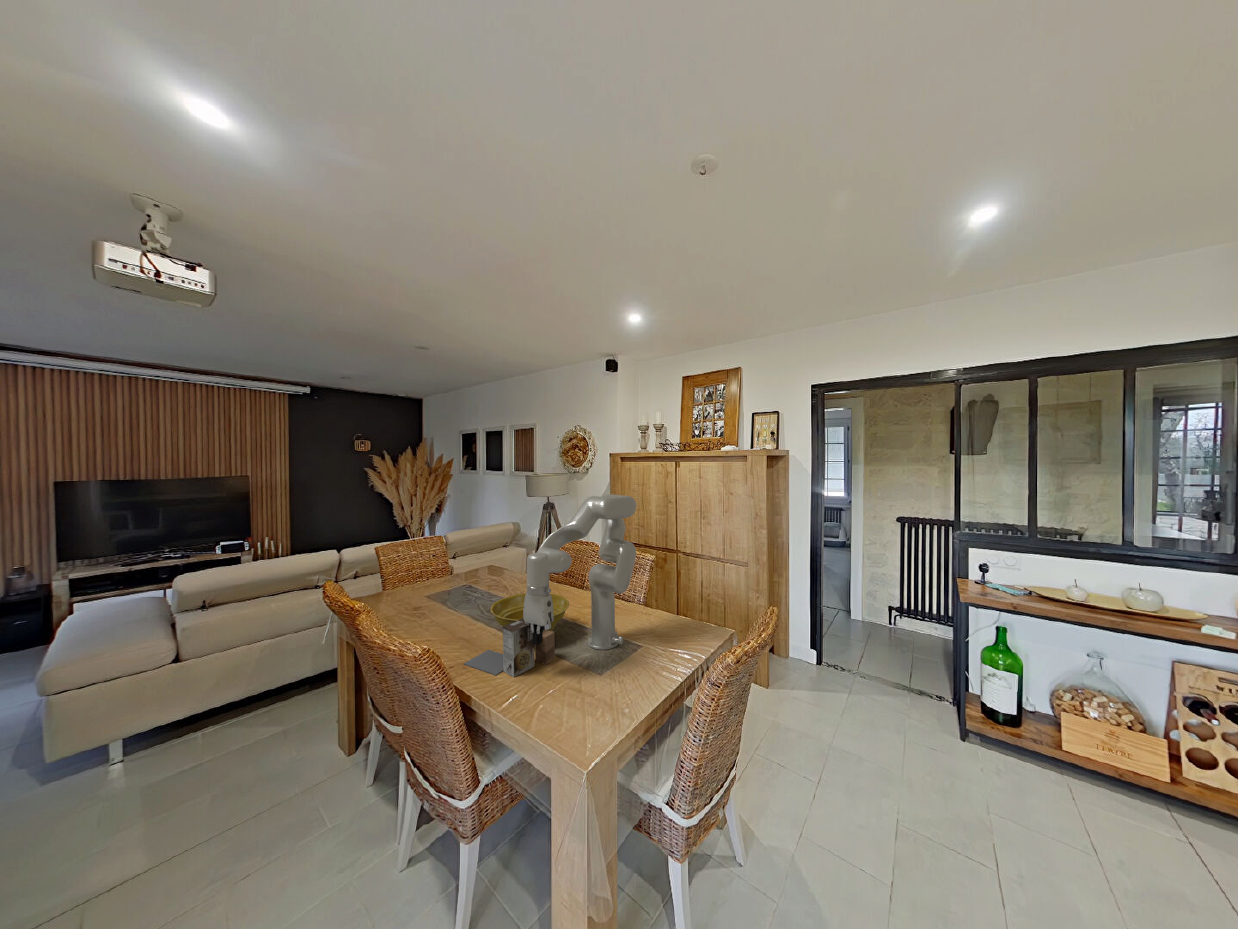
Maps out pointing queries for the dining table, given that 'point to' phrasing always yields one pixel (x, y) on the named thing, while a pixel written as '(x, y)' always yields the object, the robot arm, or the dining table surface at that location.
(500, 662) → the mat
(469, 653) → the dining table surface
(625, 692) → the dining table surface
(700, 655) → the dining table surface
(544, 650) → the walnut block
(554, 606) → the planter bowl
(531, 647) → the coffee box
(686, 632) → the dining table surface
